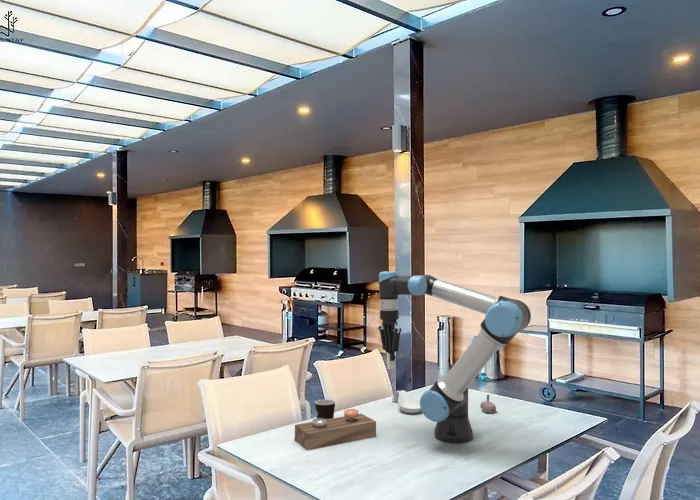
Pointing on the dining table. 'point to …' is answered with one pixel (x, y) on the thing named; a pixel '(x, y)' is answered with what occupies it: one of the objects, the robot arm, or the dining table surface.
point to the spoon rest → (406, 402)
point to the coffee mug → (325, 408)
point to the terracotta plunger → (351, 414)
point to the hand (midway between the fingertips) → (391, 368)
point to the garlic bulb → (488, 406)
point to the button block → (335, 432)
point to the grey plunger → (319, 422)
